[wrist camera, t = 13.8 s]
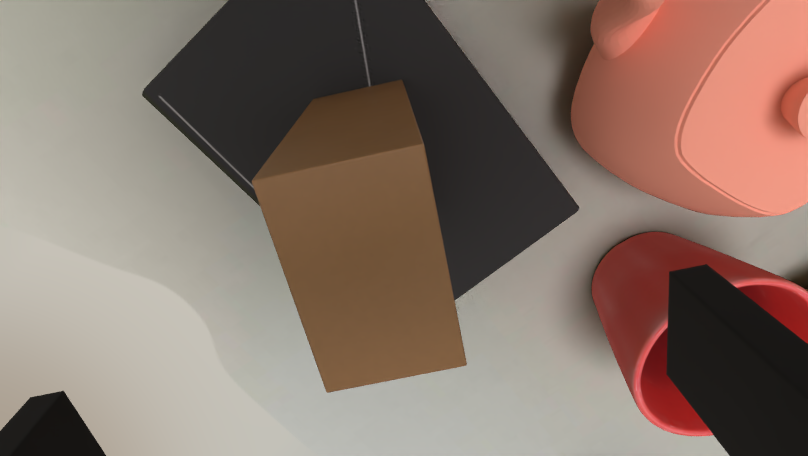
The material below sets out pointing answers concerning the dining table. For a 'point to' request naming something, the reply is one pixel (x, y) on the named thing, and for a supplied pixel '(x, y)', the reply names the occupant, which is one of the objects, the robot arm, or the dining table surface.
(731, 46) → the teapot
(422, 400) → the dining table surface
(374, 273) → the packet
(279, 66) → the book
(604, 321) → the flower pot
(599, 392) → the dining table surface
